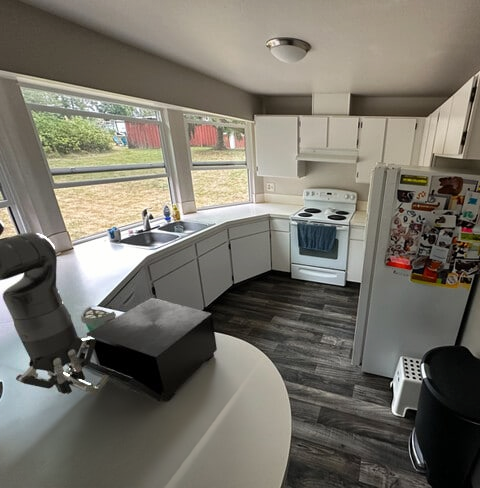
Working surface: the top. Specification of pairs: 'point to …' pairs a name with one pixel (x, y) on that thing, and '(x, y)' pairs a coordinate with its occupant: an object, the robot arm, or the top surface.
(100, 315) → the food container
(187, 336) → the oven
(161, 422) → the top surface
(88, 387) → the oven door
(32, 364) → the robot arm
